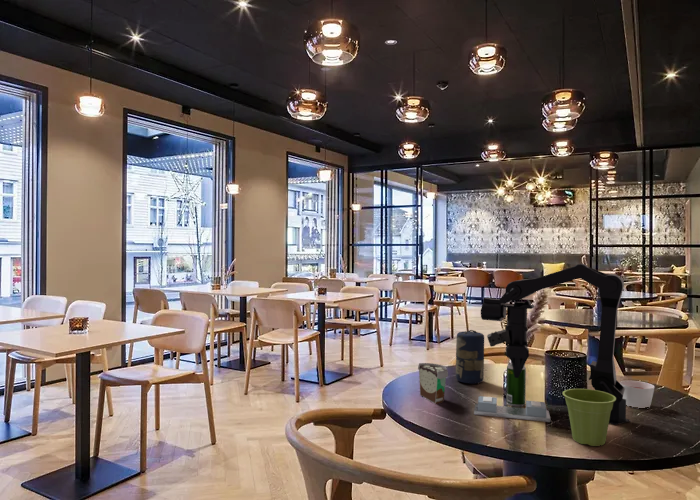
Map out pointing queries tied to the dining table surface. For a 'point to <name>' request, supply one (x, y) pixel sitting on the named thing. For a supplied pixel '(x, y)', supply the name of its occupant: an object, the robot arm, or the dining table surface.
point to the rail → (512, 413)
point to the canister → (470, 357)
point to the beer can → (516, 387)
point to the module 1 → (487, 404)
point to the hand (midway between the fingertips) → (516, 374)
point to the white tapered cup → (637, 393)
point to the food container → (432, 381)
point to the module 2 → (535, 408)
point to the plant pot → (589, 414)
